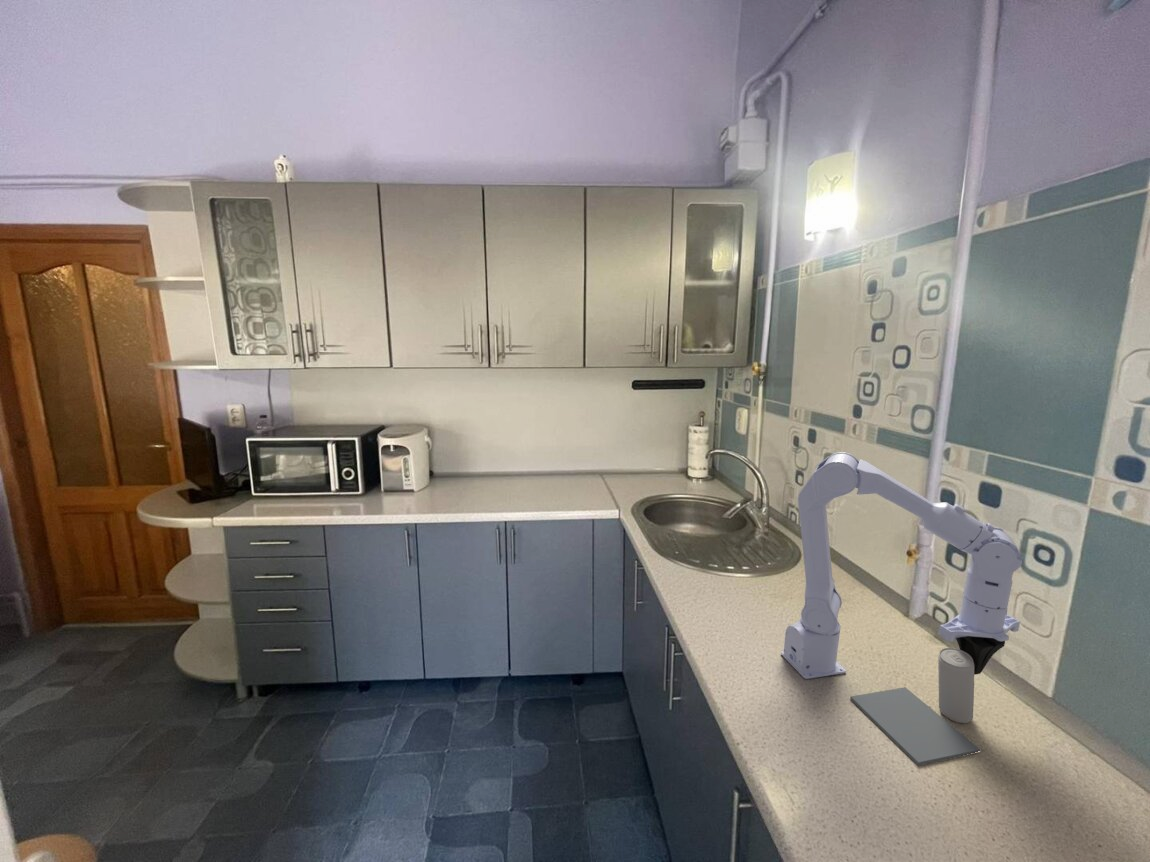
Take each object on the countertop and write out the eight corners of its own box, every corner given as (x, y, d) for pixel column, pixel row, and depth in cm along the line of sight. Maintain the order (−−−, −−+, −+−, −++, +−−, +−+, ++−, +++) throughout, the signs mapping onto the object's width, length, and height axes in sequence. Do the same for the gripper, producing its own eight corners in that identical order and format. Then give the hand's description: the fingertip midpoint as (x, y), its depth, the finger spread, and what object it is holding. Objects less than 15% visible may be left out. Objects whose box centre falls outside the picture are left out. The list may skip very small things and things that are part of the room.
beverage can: (958, 700, 85) (958, 644, 82) (981, 722, 81) (982, 664, 78) (931, 705, 85) (931, 650, 83) (953, 727, 81) (953, 669, 78)
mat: (918, 765, 73) (918, 762, 73) (850, 699, 87) (850, 696, 87) (980, 752, 76) (980, 749, 76) (904, 689, 89) (905, 687, 89)
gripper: (974, 618, 74) (960, 693, 77) (1045, 608, 77) (1030, 680, 79) (932, 594, 81) (921, 664, 83) (999, 586, 83) (986, 653, 86)
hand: (971, 670), depth 82 cm, fingers closed
